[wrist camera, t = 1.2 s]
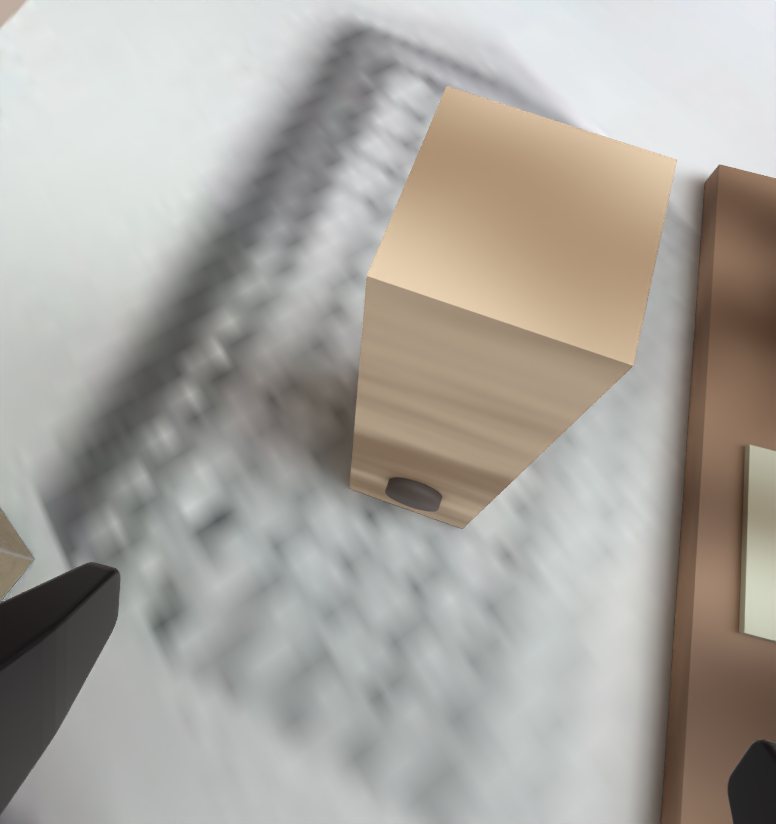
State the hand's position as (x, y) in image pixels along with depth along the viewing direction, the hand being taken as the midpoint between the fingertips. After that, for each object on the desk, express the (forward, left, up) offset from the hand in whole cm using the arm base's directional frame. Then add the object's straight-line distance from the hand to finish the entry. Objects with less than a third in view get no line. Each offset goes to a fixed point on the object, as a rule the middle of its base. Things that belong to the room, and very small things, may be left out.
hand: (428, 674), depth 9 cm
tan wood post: (+7, +1, -13) cm, 15 cm away
